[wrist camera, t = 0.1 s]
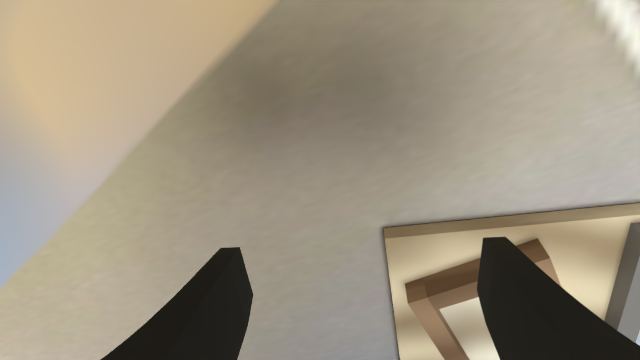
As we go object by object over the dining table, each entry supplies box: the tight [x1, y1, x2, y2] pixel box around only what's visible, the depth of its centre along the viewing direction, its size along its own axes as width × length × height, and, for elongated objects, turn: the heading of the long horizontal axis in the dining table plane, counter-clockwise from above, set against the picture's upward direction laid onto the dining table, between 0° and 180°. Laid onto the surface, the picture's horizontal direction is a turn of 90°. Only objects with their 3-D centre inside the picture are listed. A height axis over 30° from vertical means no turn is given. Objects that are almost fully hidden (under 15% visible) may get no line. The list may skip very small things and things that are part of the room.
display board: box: [384, 203, 640, 360], centre depth 25 cm, size 16×14×1 cm
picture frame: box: [405, 238, 561, 360], centre depth 24 cm, size 12×8×2 cm, turn 31°
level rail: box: [604, 222, 640, 342], centre depth 23 cm, size 15×1×1 cm, turn 10°
